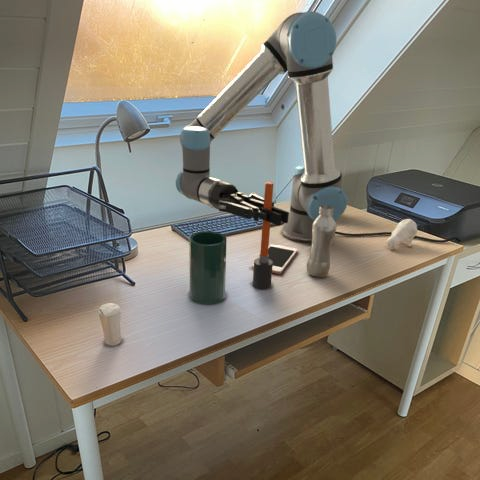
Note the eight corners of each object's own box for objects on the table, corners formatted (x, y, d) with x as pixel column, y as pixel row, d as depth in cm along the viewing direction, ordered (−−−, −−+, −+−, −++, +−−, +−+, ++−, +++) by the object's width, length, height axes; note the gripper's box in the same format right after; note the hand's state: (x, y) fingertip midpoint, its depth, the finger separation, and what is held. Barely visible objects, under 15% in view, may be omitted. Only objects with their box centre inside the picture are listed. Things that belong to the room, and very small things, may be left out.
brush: (266, 279, 133) (274, 179, 118) (273, 288, 129) (282, 185, 114) (250, 281, 132) (256, 180, 117) (256, 290, 128) (263, 186, 113)
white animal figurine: (421, 220, 154) (400, 231, 148) (416, 244, 159) (396, 256, 153) (404, 214, 158) (383, 225, 152) (399, 238, 163) (379, 249, 157)
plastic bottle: (314, 267, 141) (324, 201, 131) (333, 275, 137) (344, 208, 127) (300, 273, 137) (309, 206, 127) (319, 281, 133) (329, 213, 123)
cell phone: (251, 268, 139) (251, 265, 138) (271, 246, 153) (271, 243, 152) (280, 274, 136) (280, 271, 135) (297, 251, 150) (297, 248, 150)
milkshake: (96, 346, 103) (90, 306, 97) (110, 334, 107) (105, 295, 102) (114, 351, 101) (109, 311, 96) (127, 338, 106) (123, 299, 100)
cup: (218, 285, 129) (220, 229, 120) (229, 301, 122) (231, 243, 113) (186, 289, 126) (185, 232, 118) (195, 306, 119) (194, 247, 111)
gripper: (238, 202, 137) (301, 226, 123) (198, 213, 128) (261, 240, 114) (239, 176, 133) (305, 198, 119) (198, 186, 124) (263, 210, 110)
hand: (283, 218), depth 116 cm, fingers closed on brush, 2 cm apart
